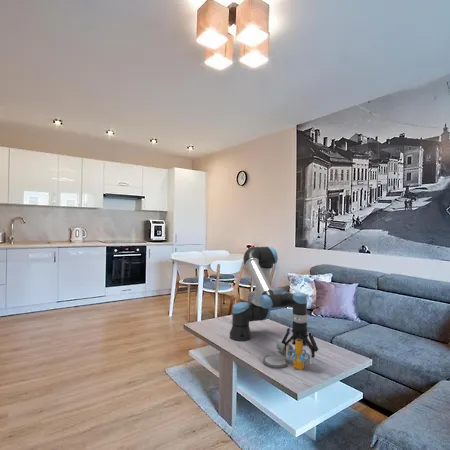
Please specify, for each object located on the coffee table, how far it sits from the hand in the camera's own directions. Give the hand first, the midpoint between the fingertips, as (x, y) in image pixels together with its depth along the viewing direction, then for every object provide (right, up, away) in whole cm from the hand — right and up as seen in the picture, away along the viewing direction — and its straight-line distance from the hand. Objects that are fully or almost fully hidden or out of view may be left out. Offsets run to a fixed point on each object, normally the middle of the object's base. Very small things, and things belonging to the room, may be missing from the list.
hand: (299, 359), depth 168 cm
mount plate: (-12, -4, +5) cm, 14 cm away
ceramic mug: (-3, -4, +19) cm, 20 cm away
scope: (+9, -4, +33) cm, 34 cm away
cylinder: (0, -4, 0) cm, 4 cm away
